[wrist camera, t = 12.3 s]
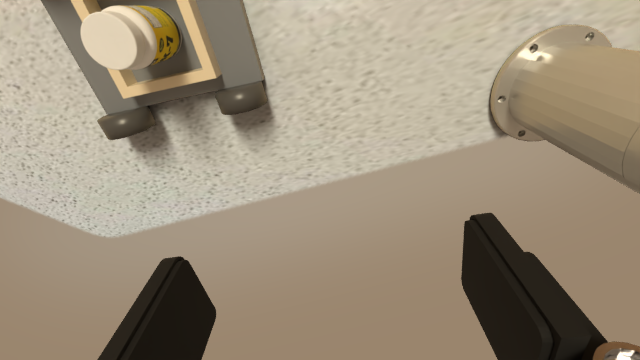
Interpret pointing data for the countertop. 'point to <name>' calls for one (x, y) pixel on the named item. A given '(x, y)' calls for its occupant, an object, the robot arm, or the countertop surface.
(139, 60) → the supplement bottle
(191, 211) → the countertop surface
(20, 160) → the countertop surface
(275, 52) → the countertop surface
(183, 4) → the toy chassis
